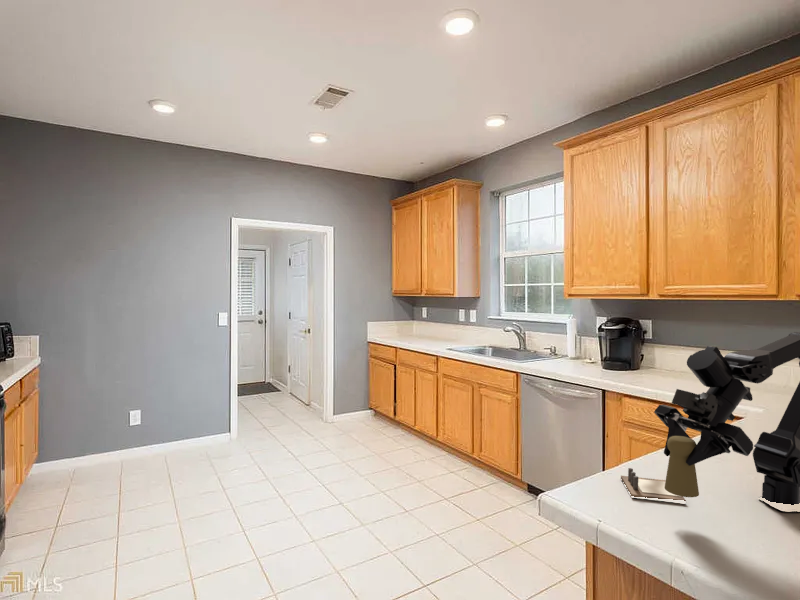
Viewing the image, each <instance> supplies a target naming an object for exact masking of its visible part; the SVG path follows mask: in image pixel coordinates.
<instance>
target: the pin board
mask: <svg viewBox="0 0 800 600" xmlns="http://www.w3.org/2000/svg"><path fill="white" fill-rule="evenodd" d="M627 473H628V474H627V475H628V476H627V475H620V480H621V479H622V481H623V482H624V484H625V485H626V487H627V489H628V491H629V492H630V494H631V496H634V497H645V498H646V497H647V498H658V499H673V500H684V501H686V502H687V500H686V499H685V497H682V496H678V495H675V494H672V493H670V492H668V491H667V490H665V481H666V479H659V478H658V479H655V478H648V477H647V478H646V477H639V476H638V475H636V472H634V469H633V468H631V467H628V469H627ZM622 481H621V482H622ZM624 484H623V485H624ZM628 491H627V492H628ZM631 496H630V497H631Z"/></svg>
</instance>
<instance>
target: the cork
mask: <svg viewBox="0 0 800 600" xmlns="http://www.w3.org/2000/svg"><path fill="white" fill-rule="evenodd" d="M696 445H697V443H696V441H695V439H692V438H691V437H690V438H688V437H684V436H672V437H670V438H669V439H668V442H667V447H668V449H669V451H670V455H669V456H668V458H669V459H668V464H667V469H666V470H667V471H666V477H665V480H666V481H665V490H667V491H668V492H670V493H672V494H675V495H678V496H682V497H684V498H697V497H698V496H699V495H700V491H699V485H698V484H699V483H698V478H697V477H698V476H697V470H696V464H693V465H691V466H689V465H688V464H687V463H686V460H687V458H688V456H689V455H690V453H691V452H692V450H693V449H694V448H695V446H696Z"/></svg>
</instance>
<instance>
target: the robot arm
mask: <svg viewBox="0 0 800 600" xmlns="http://www.w3.org/2000/svg"><path fill="white" fill-rule="evenodd" d="M795 359H798V360H799V361H798V365H799V367H800V331H794V332H790V333H789V334H788V335H787V336H784V337H783V338H780V339H778V340H775V341H773V342H770V343H768V344H766V345H764V346H763V345H762V346H761V347H759V348H755V349H750V350H737V351H732V352H728V353H727V354H725V355H722V353H721V351H720V349H719V348H718V347H717V346H711V345H707V346H706V347H705V349H702V350H701V349H700V350H698V351H696V352H694V353H693V354H691V355H689V356H688V358H687V360H686V365H687V367H688V368H689V369H690V371H691V372H692V373H693V375H695V377H696V378H697V380H698V381H699V382H700V384H702V385H703V386H704V387H706V388H708V389H707V391H706V392H704V391H703V392H702V393H698V394H697V393H694V392H691V391H687V390H682V389H679V388H676V390H675V393H674V395H673V398H672V401H671V404H672V405H677V406H679V407H681V408H683V409H682V412H683V413H684V414H685V415H687V417H685V416H684V415H683V414H682V413H681V412H680V410H679V409H678V408H676V407H672V406H670V405H667V404H659V405H658V406H657V407H656V408H655V410H654V411H653V413H654V414H655V415H656V416H657V417H658V419H659V420H660V421H661V422H662V423H663V424H664V425H665V426H666V428H668V431H667V437H666V441H665V444H664V445H665V446H664V450H663V454H664V455H665V456H666V457H670V451H669V449H668V447H667V442H668V439H669V438H670V437H672V436H684V437H688V438H691V437H690V435H688V433H687V429H690V430H694V431H696V432H700V439H699V440H698V441H697V443H696V446H695V448H694V449H693V450H692V452H691V453H690V455H689V456H688V458H687V460H686V463H687V464H688V465H689V466H691V465H693V464H695V465H696V464H698V463H700V462H703V461H705V460H707V459H711V458H713V457H715V456H719V455H722V454H730V453H731V452H732V451H733V452H734V453H736V454H740V455H742V456H745V457H748V456H750V454H751V453H752V458H753V462H754V466H755V470H756V472H757V473H758V474H763V475H764V476H763V482H762V484H761V485H762V487H761V488H762V490H761V497H762V498H765V499H766V500H768V501H770V502H776V503H783V504H791V505H794V504H799V503H800V381H799V382H798V383H797V387H796V388H795V391H794V392H793V395H792V397H791V399H790V401H789V402H788V405H787V407H786V408H785V411H784V412H783V415H782V416H781V419H780V421H779V423H778V425H777V427H776V429H775V430H772V432H767V431H762V432H761V433H760V434H759V438H758V440H757V442H756V443H755V444H754V442H753V441H752V439H751V438H750V437H749V436H748V435H747V434H746V433H745V431H744V430H743V428H741V427H740V426H736V425H734V424H731V423H727V421H731V422H733V421H734V420H735V418H736V416H735V415H734V414H733V412H734V411H735V409H736V408H737V407H738V406H739V404H740V403H741V402H742V400H745V401H750V402H751V401H753V394H752V393H751V387H749V386H745V384H744V383H743V382H747V383H753V384H762V383H763V382H765V381H766V380H767V379H769V378H770V377H771V376H772V375H773V374H774V369H776V368H777V367H779V366H782V365H784V364H786V363H788V362H791V361H793V360H795ZM730 448H731V449H732V450H730Z"/></svg>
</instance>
